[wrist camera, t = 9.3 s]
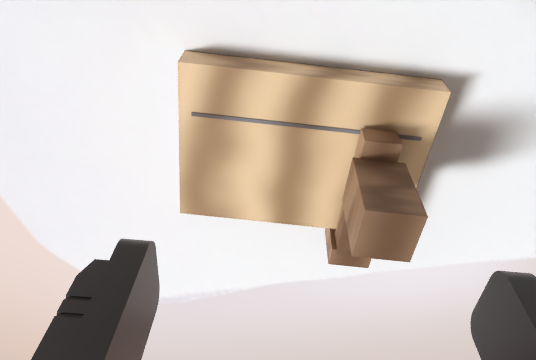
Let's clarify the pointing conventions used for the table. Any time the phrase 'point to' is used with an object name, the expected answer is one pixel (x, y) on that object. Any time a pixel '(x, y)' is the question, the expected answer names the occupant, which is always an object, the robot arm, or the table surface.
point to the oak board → (290, 134)
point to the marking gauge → (377, 206)
